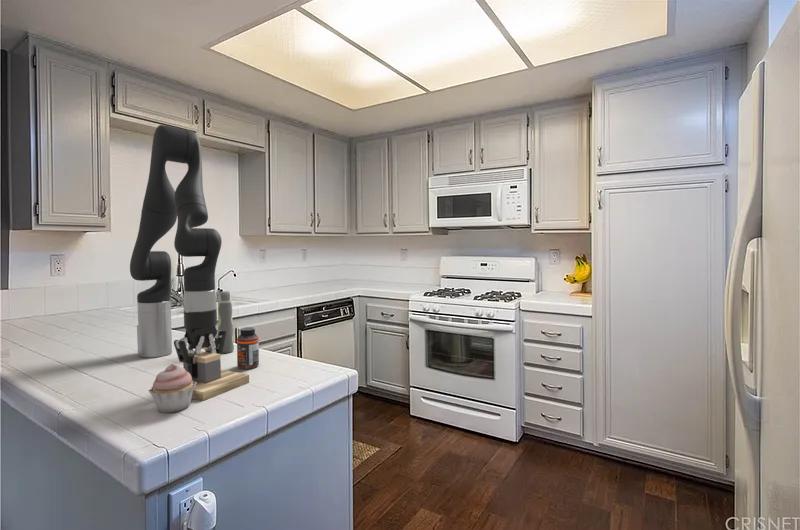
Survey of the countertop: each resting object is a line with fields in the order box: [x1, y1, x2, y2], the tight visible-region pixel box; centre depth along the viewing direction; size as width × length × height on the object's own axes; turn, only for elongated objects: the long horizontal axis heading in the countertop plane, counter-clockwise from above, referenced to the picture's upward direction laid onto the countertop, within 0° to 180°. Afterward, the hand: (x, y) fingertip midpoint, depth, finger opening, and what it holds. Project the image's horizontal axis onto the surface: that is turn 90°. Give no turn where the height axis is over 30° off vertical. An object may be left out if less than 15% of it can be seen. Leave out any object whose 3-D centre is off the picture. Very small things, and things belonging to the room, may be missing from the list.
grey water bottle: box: [217, 290, 235, 354], centre depth 139 cm, size 5×5×20 cm
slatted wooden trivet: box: [191, 369, 250, 402], centre depth 107 cm, size 15×14×2 cm
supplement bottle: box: [236, 326, 260, 370], centre depth 123 cm, size 6×6×11 cm
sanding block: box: [182, 350, 222, 383], centre depth 107 cm, size 8×4×6 cm, turn 64°
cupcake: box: [147, 363, 197, 414], centre depth 93 cm, size 9×9×10 cm
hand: (202, 374), depth 107 cm, fingers closed on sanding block, 4 cm apart
